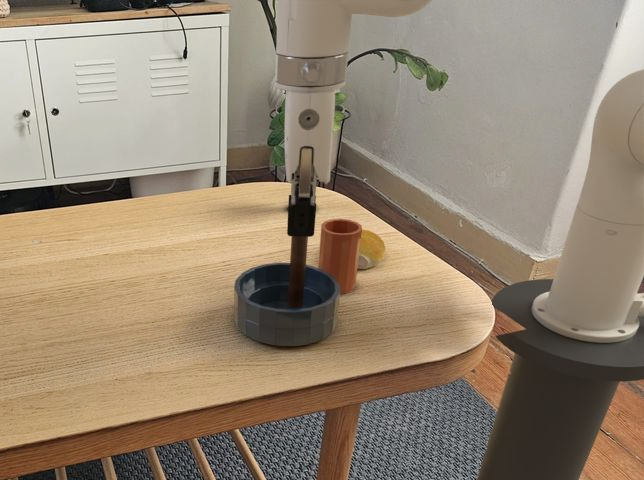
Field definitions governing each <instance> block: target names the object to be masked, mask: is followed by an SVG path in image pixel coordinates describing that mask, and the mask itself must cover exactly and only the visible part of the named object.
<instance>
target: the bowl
mask: <svg viewBox="0 0 644 480" xmlns="http://www.w3.org/2000/svg"><path fill="white" fill-rule="evenodd" d="M289 272H290V262H272V263H263V264H260V265H256V266H252V267H250V268H248V269H247V270H245V271H243V272H242V273H240V274H239V276H237V278H236V279H235V281H234V286H233V321H234V323H235V325H236V328H237V329H238V330H239V331H240V332H241V333H243V335H244V336H246V337H248V338H249V339H253V340H254V341H257V342H258V343H263V344H266V345H271V346H282V347H297V346H306V345H310V344H313V343H316V342H320V341H322V340H324V339H325V338H327V337H328V336H329V335H331V334H332V333H333V332H334V330H335V328H336V326H337V324H338V317H339V316H338V315H339V305H340V298H341V294H340V285H339V283H338V281H337V280H336V279H335V278H334V276H332V275H331V274H329V273H328V272H326V271H324V270H322V269H319V268H318V267H316V266H313V265H309V264H306V271H305V285H304V299H303V306H302V307H300V308H292V307H289V306H288V290H289Z"/></svg>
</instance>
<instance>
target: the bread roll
mask: <svg viewBox="0 0 644 480" xmlns="http://www.w3.org/2000/svg"><path fill="white" fill-rule="evenodd" d="M385 252H386V244H385V242H384V240H383V239H382V238H381V237H380V236H379V235H378V234H377V233H375V232H373V231H371V230H368V229H362V235H361V243H360V251H359V259H358V267H357V270H366V269H370V268H373V267H376V266H377V265H379V263H380V262H381V261H382V260H383V258H384V254H385Z"/></svg>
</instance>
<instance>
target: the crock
mask: <svg viewBox="0 0 644 480" xmlns="http://www.w3.org/2000/svg"><path fill="white" fill-rule="evenodd" d="M362 230H363V225H362V224H361V223H359V222H357V221H355V220H352V219H346V218H334V219H329V220H326V221H325V220H324V221H323V222H322V223H321V224H320V236H319V246H318V247H319V248H318V256H317V257H318V258H317V268H319V269H322V270H324V271H326V272H328V273H329V274H331V275H332V276H334V278H335V279H336V280H337V281H338V283H339V285H340V295H343V294H347V293H351V292H353V290H354V289H355V287H356V282H357V275H358V269H357V267H358V259H359V251H360V243H361V235H362Z"/></svg>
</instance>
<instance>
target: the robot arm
mask: <svg viewBox="0 0 644 480" xmlns="http://www.w3.org/2000/svg"><path fill="white" fill-rule="evenodd" d="M432 1H433V0H277V13H276V14H277V16H276V18H277V19H276V41H275V42H276V46H275V67H274V68H275V70H274V87H275V88H277V89H279V90H282V91H285V98H284V99H285V103H284V104H285V105H284V162H285V163H284V164H285V176H286V177H285V178H286V181H287V182H288V183H289V184H290V186H291V188H290V194H288V204H287V205H288V206H287V207H288V209H287V229H286V234H287V236H288V237H292V236H301V237H308V238H309V237H310V238H311V237H314V236H315V229H316V214H317V203H316V202H317V201H316V200H317V195H316V192H317V183H318V182H317V181H319V183H323V185H327V184H328V183H330V181H331V171H332V155H333V143H334V128H335V117H336V116H335V115H336V114H335V111H336V91H337V90H340V89H342V88H344V87H345V86H346V84H347V83H346V82H347V74H348V73H347V72H348V71H347V70H348V61H349V49H350V38H351V29H352V18H353V15H367V16H375V17H386V18H401V17H406V16H409V15H412V14H415V13H417V12H419V11H420V10H422V9H424V8H425V7H426V6H427V5H429V4H430V3H432ZM317 179H318V180H317ZM296 186H299V188H297V189H296ZM310 186H311V188H310ZM295 202H296V203H295ZM553 279H554V280H553V283H552V286H551V289H550V292H546V293H543V294H541V295H539V296H538V297H536V298H535V300H534V302H533V305H532V314H533V316H534V317H535V318H536V320H537V321H538V322H539V323H541V324H542V325H543V326H544V327H546V328H548V329H550V330H551V331H553V332H556V333H558V334H560V335H563V336H566V337H569V338H572V339H576V340H581V341H586V342H594V343H614V342H620V341H624V340H627V339H629V338H631V337H633V336H634V335H635V334H636V332H637V329H638V327H639V319H638V317H643V316H644V292H641V293H638V292H639V290H640V286H641V284H642V281H643V279H644V69H639V70H637V71H633V72H632V73H629V74H628V75H626V76H624V77H622V78H621V79H619V80H618V81H617V82H616V83H615V84H613V86H611V88H609V90H608V91H607V92H606V93H605V95H604V96H603V98H602V100H601V101H600V103H599V106H598V107H597V111H596V114H595V117H594V122H593V126H592V135H591V144H590V154H589V160H588V166H587V170H586V173H585V177H584V182H583V185H582V187H581V192H580V194H579V198H578V201H577V205H576V206H575V210H574V213H573V217H572V219H571V223H570V225H569V229H568V232H567V235H566V239H565V242H564V244H563V248H562V251H561V255H560V258H559V261H558V264H557V267H556V269H555V273H554V276H553Z"/></svg>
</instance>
